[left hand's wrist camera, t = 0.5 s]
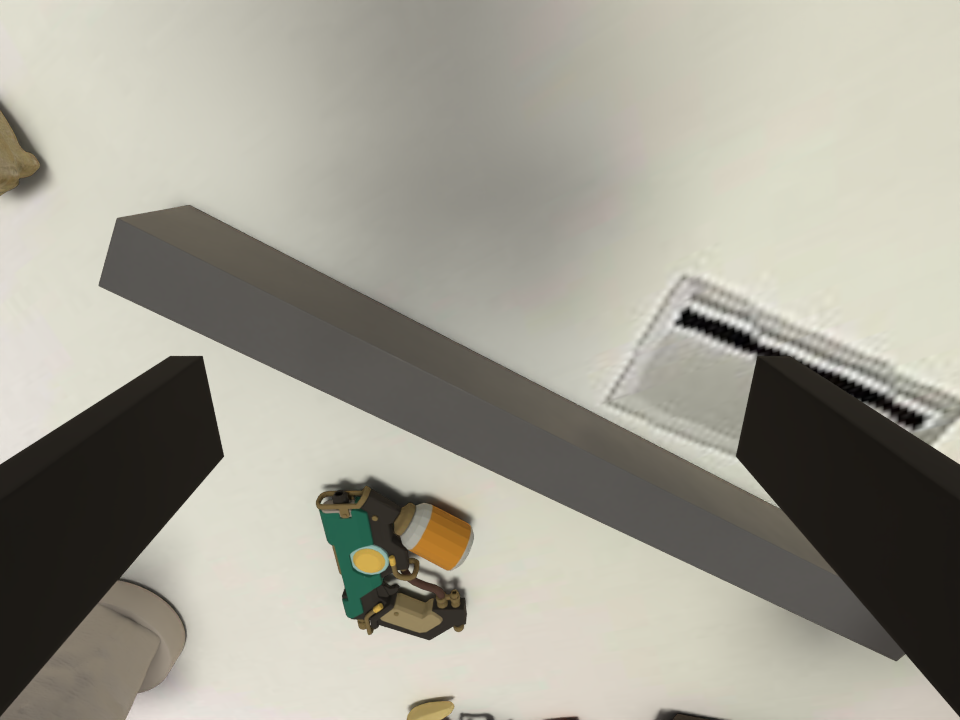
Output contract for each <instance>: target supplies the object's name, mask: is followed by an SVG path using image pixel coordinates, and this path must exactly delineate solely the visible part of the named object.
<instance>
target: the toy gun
mask: <svg viewBox="0 0 960 720" xmlns="http://www.w3.org/2000/svg"><path fill="white" fill-rule="evenodd" d="M453 709H454V704H453V703H452V702H450V701H440V702H430V703H425V704H422V705H419V706H416V707H414V708H413V709H412V710H411V711H410V712H409V714H408V716H407V720H444V718H445V717H446V716H448V715H449V714H450V713H451V712H452V711H453Z"/></svg>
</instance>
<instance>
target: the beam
mask: <svg viewBox="0 0 960 720" xmlns="http://www.w3.org/2000/svg"><path fill="white" fill-rule="evenodd" d="M99 286H100V287H102V288H104V289H106V290H108V291H110V292H113V293H115V294H117V295H119V296H121V297H123V298H125V299H127V300H130V301H132V302H134V303H136V304H138V305H140V306H142V307H144V308H147V309H149V310H151V311H153V312H155V313H157V314H159V315H161V316H164V317H166V318H168V319H170V320H172V321H174V322H176V323H178V324H181V325H183V326H185V327H187V328H189V329H191V330H193V331H195V332H198V333H200V334H202V335H204V336H206V337H208V338H210V339H212V340H215V341H217V342H219V343H221V344H223V345H225V346H227V347H229V348H232V349H234V350H236V351H238V352H240V353H242V354H244V355H246V356H249V357H251V358H253V359H255V360H257V361H259V362H261V363H263V364H266V365H268V366H270V367H272V368H274V369H276V370H278V371H280V372H283V373H285V374H287V375H289V376H291V377H293V378H295V379H297V380H300V381H302V382H304V383H306V384H308V385H310V386H312V387H314V388H317V389H319V390H321V391H323V392H325V393H327V394H329V395H331V396H334V397H336V398H338V399H340V400H342V401H344V402H346V403H348V404H351V405H353V406H355V407H357V408H359V409H361V410H363V411H365V412H368V413H370V414H372V415H374V416H376V417H378V418H380V419H382V420H385V421H387V422H389V423H391V424H393V425H395V426H397V427H399V428H402V429H404V430H406V431H408V432H410V433H412V434H414V435H416V436H419V437H421V438H423V439H425V440H427V441H429V442H431V443H433V444H436V445H438V446H440V447H442V448H444V449H446V450H448V451H450V452H453V453H455V454H457V455H459V456H461V457H463V458H465V459H467V460H470V461H472V462H474V463H476V464H478V465H480V466H482V467H484V468H487V469H489V470H491V471H493V472H495V473H497V474H499V475H501V476H504V477H506V478H508V479H510V480H512V481H514V482H516V483H518V484H521V485H523V486H525V487H527V488H529V489H531V490H533V491H535V492H538V493H540V494H542V495H544V496H546V497H548V498H550V499H552V500H555V501H557V502H559V503H561V504H563V505H565V506H567V507H569V508H572V509H574V510H576V511H578V512H580V513H582V514H584V515H586V516H589V517H591V518H593V519H595V520H597V521H599V522H601V523H603V524H606V525H608V526H610V527H612V528H614V529H616V530H618V531H620V532H623V533H625V534H627V535H629V536H631V537H633V538H635V539H637V540H639V541H642V542H644V543H646V544H648V545H650V546H652V547H654V548H656V549H659V550H661V551H663V552H665V553H667V554H669V555H671V556H673V557H676V558H678V559H680V560H682V561H684V562H686V563H688V564H690V565H693V566H695V567H697V568H699V569H701V570H703V571H705V572H707V573H710V574H712V575H714V576H716V577H718V578H720V579H722V580H724V581H727V582H729V583H731V584H733V585H735V586H737V587H739V588H741V589H744V590H746V591H748V592H750V593H752V594H754V595H756V596H758V597H761V598H763V599H765V600H767V601H769V602H771V603H773V604H775V605H778V606H780V607H782V608H784V609H786V610H788V611H790V612H792V613H795V614H797V615H799V616H801V617H803V618H805V619H807V620H809V621H812V622H814V623H816V624H818V625H820V626H822V627H824V628H826V629H829V630H831V631H833V632H835V633H837V634H839V635H841V636H843V637H846V638H848V639H850V640H852V641H854V642H856V643H858V644H860V645H863V646H865V647H867V648H869V649H871V650H873V651H875V652H877V653H880V654H882V655H884V656H886V657H888V658H890V659H892V660H894V661H897V660H899V659H900V658H901V657H902V656H904V655H905V653H904V651H903V650H902V649H901V648H900V647H899V646H898V645H897V643H896V642H895V641H894V640H893V639H892V638H891V636H890V635H889V634H888V633H887V632H886V631H885V629H884V628H883V627H882V626H881V625H880V624H879V622H878V621H877V620H876V619H875V618H874V617H873V615H872V614H871V613H870V612H869V611H868V610H867V608H866V607H865V606H864V605H863V604H862V603H861V601H860V600H859V599H858V598H857V597H856V596H855V594H854V593H853V592H852V591H851V590H850V589H849V587H848V586H847V585H846V584H845V583H844V582H843V580H842V579H841V578H840V577H839V576H838V575H837V573H836V572H835V571H834V570H833V569H832V568H831V567H830V565H829V564H828V563H827V562H826V561H825V560H824V558H823V557H822V556H821V555H820V554H819V553H818V551H817V550H816V549H815V548H814V547H813V546H812V544H811V543H810V542H809V541H808V540H807V539H806V537H805V536H804V535H803V534H802V533H801V532H800V530H799V529H798V528H797V527H796V526H795V525H794V523H793V522H792V521H791V520H790V519H789V518H788V516H787V515H786V514H785V513H784V512H783V511H782V510H781V509H779V508H777V507H775V506H773V505H771V504H769V503H767V502H765V501H763V500H761V499H759V498H758V497H756V496H754V495H752V494H750V493H748V492H746V491H744V490H742V489H740V488H738V487H736V486H734V485H732V484H730V483H728V482H726V481H725V480H723V479H721V478H719V477H717V476H715V475H713V474H711V473H709V472H707V471H705V470H703V469H701V468H699V467H697V466H695V465H693V464H691V463H690V462H688V461H686V460H684V459H682V458H680V457H678V456H676V455H674V454H672V453H670V452H668V451H666V450H664V449H662V448H660V447H658V446H656V445H655V444H653V443H651V442H649V441H647V440H645V439H643V438H641V437H639V436H637V435H635V434H633V433H631V432H629V431H627V430H625V429H623V428H622V427H620V426H618V425H616V424H614V423H612V422H610V421H608V420H606V419H604V418H602V417H600V416H598V415H596V414H594V413H592V412H590V411H588V410H587V409H585V408H583V407H581V406H579V405H577V404H575V403H573V402H571V401H569V400H567V399H565V398H563V397H561V396H559V395H557V394H555V393H554V392H552V391H550V390H548V389H546V388H544V387H542V386H540V385H538V384H536V383H534V382H532V381H530V380H528V379H526V378H524V377H522V376H520V375H519V374H517V373H515V372H513V371H511V370H509V369H507V368H505V367H503V366H501V365H499V364H497V363H495V362H493V361H491V360H489V359H487V358H485V357H484V356H482V355H480V354H478V353H476V352H474V351H472V350H470V349H468V348H466V347H464V346H462V345H460V344H458V343H456V342H454V341H452V340H451V339H449V338H447V337H445V336H443V335H441V334H439V333H437V332H435V331H433V330H431V329H429V328H427V327H425V326H423V325H421V324H419V323H417V322H416V321H414V320H412V319H410V318H408V317H406V316H404V315H402V314H400V313H398V312H396V311H394V310H392V309H390V308H388V307H386V306H384V305H382V304H381V303H379V302H377V301H375V300H373V299H371V298H369V297H367V296H365V295H363V294H361V293H359V292H357V291H355V290H353V289H351V288H349V287H348V286H346V285H344V284H342V283H340V282H338V281H336V280H334V279H332V278H330V277H328V276H326V275H324V274H322V273H320V272H318V271H316V270H314V269H313V268H311V267H309V266H307V265H305V264H303V263H301V262H299V261H297V260H295V259H293V258H291V257H289V256H287V255H285V254H283V253H281V252H280V251H278V250H276V249H274V248H272V247H270V246H268V245H266V244H264V243H262V242H260V241H258V240H256V239H254V238H252V237H250V236H248V235H246V234H245V233H243V232H241V231H239V230H237V229H235V228H233V227H231V226H229V225H227V224H225V223H223V222H221V221H219V220H217V219H215V218H213V217H211V216H210V215H208V214H206V213H204V212H202V211H200V210H198V209H196V208H194V207H192V206H190V205H187V206H181V207H176V208H170V209H165V210H159V211H153V212H148V213H142V214H137V215H131V216H125V217H120V218H117V220H116V223H115V227H114V231H113V234H112V238H111V242H110V245H109V249H108V252H107V256H106V260H105V263H104V267H103V271H102V274H101V278H100V282H99Z"/></svg>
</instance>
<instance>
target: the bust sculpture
mask: <svg viewBox="0 0 960 720" xmlns="http://www.w3.org/2000/svg"><path fill="white" fill-rule="evenodd" d="M184 644H185V631H184V627H183V624H182V622H181V620H180V618H179V616H178V615H177V614H176V612H175V611H174V610H173V609H172V608H171V606H170V605H169V604H167V603H166V602H165V601H164V600H163V599H161V598H160V597H159V596H157V595H156V594H154V593H152V592H150V591H149V590H147V589H144V588H142V587H140V586H137V585H134V584H131V583H128V582H124V581H119V580H117V582H116V583H115V584H114V585H113V586H112V587H111V589H110V590H109V591H108V592H107V593H106V594H105V596H104V597H103V598H102V599H101V600H100V601H99V603H98V604H97V605H96V606H95V607H94V608H93V610H92V611H91V612H90V613H89V614H88V615H87V617H86V618H85V619H84V620H83V621H82V622H81V624H80V625H79V626H78V627H77V628H76V629H75V631H74V632H73V633H72V634H71V635H70V636H69V638H68V639H67V640H66V641H65V642H64V643H63V645H62V646H61V647H60V648H59V649H58V650H57V651H56V653H55V654H54V655H53V656H52V657H51V658H50V660H49V661H48V662H47V663H46V664H45V665H44V667H43V668H42V669H41V670H40V671H39V672H38V674H37V675H36V676H35V677H34V678H33V679H32V681H31V682H30V683H29V684H28V685H27V686H26V688H25V689H24V690H23V691H22V692H21V693H20V695H19V696H18V697H17V698H16V699H15V700H14V702H13V703H12V704H11V705H10V706H9V707H8V709H7V710H6V711H5V712H4V713H3V714H2V716H1V717H0V720H125V719H126V717H127V715H128V713H129V711H130V709H131V706H132V704H133V702H134V699H135V697H136V695H137V693H141V692H145V691H147V690H150V689H152V688H154V687H156V686H157V685H159V684H160V683H161V682H162V681H163V680H164V679H165V678H166V676H167V675H168V673H169V672H170V670H171V668H172V667H173V665H174V663H175V662H176V660H177V658H178V657H179V655H180V653H181V652H182V650H183V647H184Z"/></svg>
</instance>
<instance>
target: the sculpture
mask: <svg viewBox="0 0 960 720" xmlns="http://www.w3.org/2000/svg"><path fill="white" fill-rule="evenodd" d="M39 167H40V164H39V161H38V160H37V159H36V157H35V156H34V155H33V154H31V153H30V152H25V151H24V150H23V149H22V148H21V147H20V145H19V143H18V141H17V138H16V136H15V134H14V132H13V130H12V128H11V127H10V125H9V123H8V122H7V120H6V118H5V117H4V115H3V114H2V112H1V111H0V196H1V195H2V194H4V193H5V192H7V191H9V190H11V189H13V188H15V187H16V186H18V184H19V179H20V178H25V177H29V176H31V175H33V174H34V173H35V172H36V171H37V170H38V169H39Z"/></svg>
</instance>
